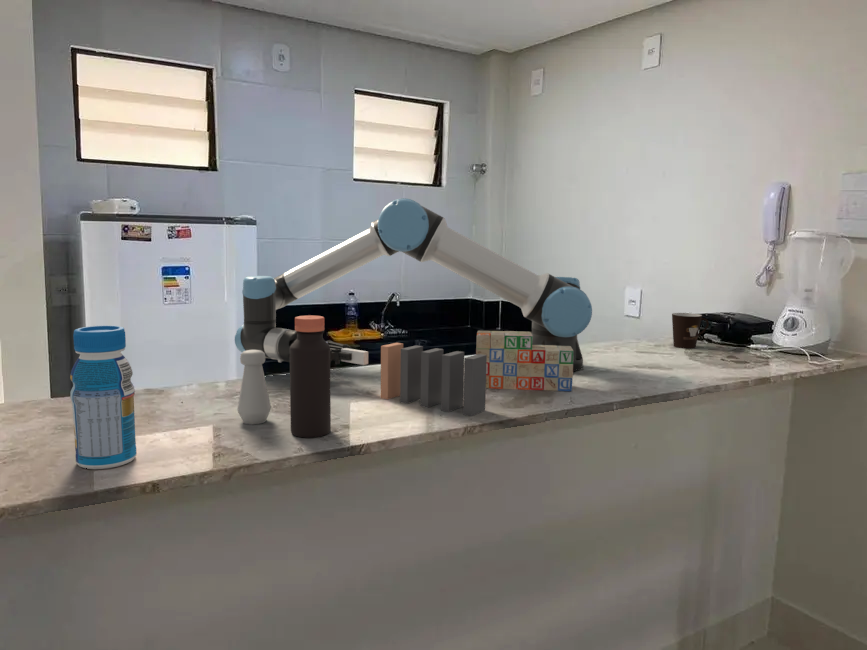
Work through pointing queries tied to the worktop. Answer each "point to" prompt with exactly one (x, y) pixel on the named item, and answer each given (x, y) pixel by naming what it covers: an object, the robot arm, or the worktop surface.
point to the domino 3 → (452, 381)
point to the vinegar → (310, 379)
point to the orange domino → (390, 370)
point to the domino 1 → (410, 374)
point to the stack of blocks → (524, 362)
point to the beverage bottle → (102, 399)
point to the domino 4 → (474, 384)
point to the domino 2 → (431, 377)
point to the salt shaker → (253, 389)
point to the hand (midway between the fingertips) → (365, 358)
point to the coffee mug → (686, 329)
